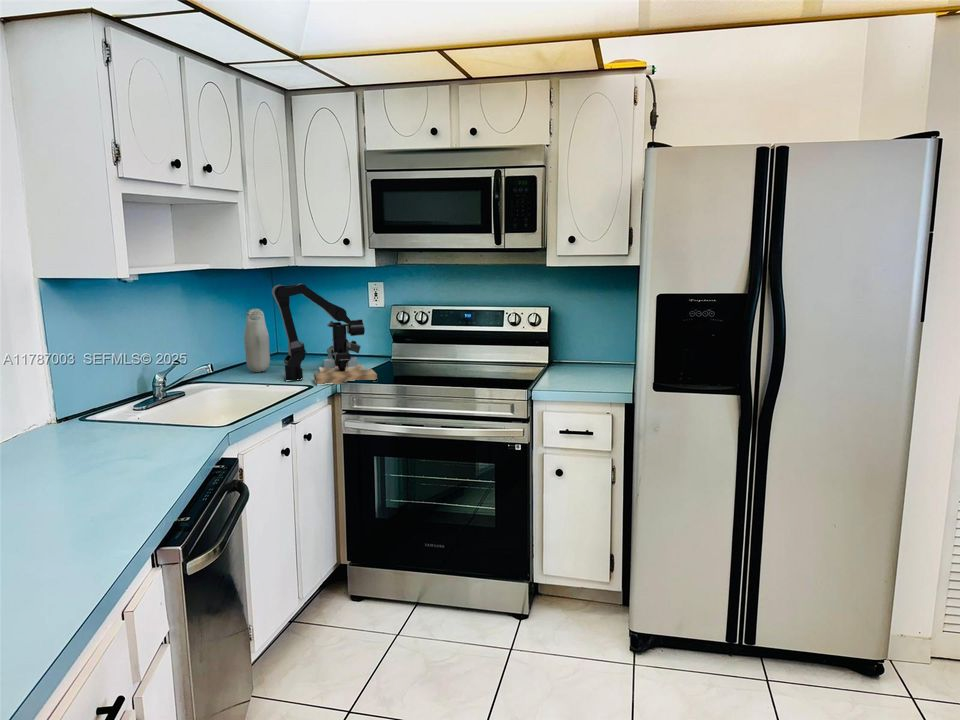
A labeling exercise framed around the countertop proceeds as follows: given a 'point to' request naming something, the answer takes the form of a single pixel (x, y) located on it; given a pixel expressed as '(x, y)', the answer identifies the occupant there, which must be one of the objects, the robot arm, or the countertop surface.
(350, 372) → the dock
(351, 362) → the crate
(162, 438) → the countertop surface
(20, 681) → the countertop surface
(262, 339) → the grey bottle
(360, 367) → the light wooden block
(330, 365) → the crate
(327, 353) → the flower pot
